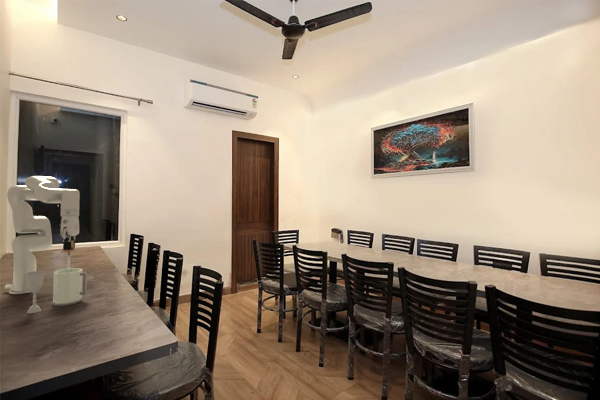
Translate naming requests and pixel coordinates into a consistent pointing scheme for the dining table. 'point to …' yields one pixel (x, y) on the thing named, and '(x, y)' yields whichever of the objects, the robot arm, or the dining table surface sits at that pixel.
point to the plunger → (69, 255)
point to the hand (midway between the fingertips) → (69, 248)
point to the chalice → (34, 287)
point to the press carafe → (68, 286)
